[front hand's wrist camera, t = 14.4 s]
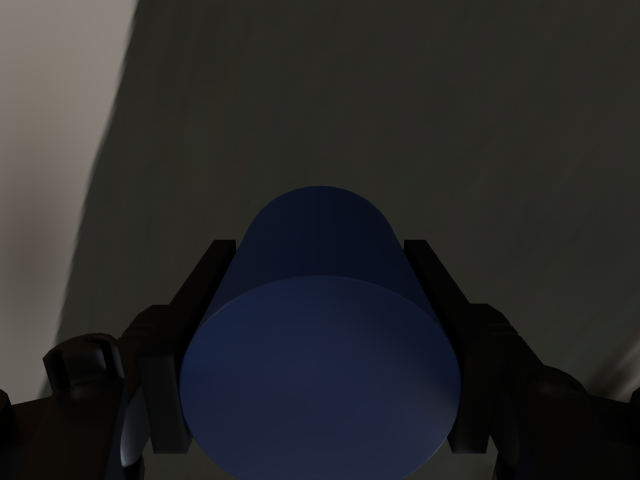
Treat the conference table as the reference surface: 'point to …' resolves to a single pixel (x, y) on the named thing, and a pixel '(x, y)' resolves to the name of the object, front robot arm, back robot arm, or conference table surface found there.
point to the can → (320, 350)
